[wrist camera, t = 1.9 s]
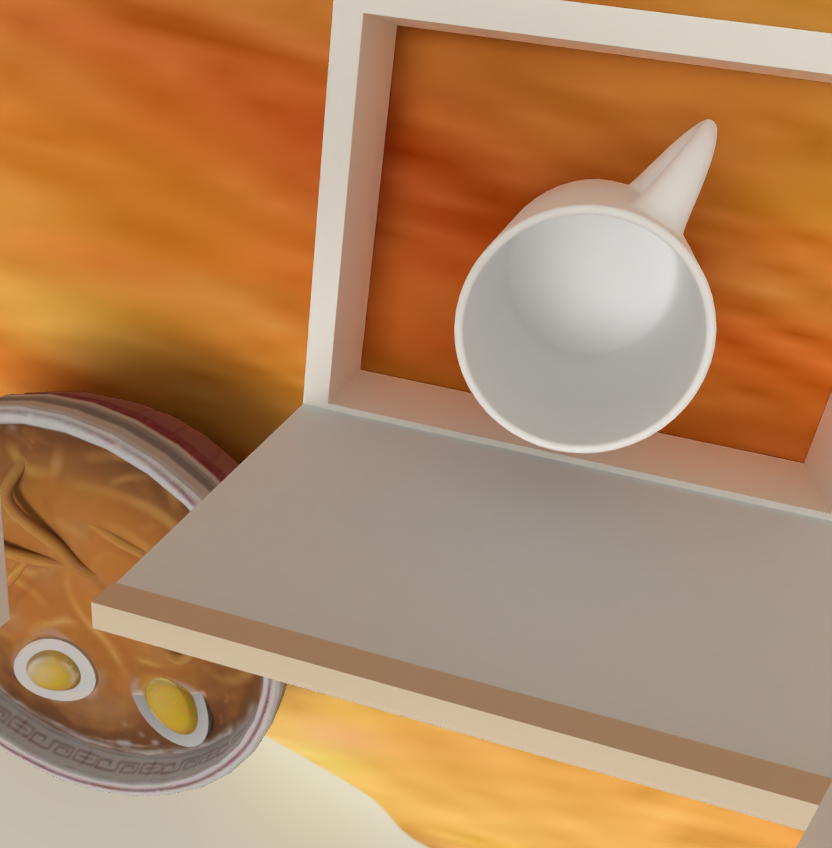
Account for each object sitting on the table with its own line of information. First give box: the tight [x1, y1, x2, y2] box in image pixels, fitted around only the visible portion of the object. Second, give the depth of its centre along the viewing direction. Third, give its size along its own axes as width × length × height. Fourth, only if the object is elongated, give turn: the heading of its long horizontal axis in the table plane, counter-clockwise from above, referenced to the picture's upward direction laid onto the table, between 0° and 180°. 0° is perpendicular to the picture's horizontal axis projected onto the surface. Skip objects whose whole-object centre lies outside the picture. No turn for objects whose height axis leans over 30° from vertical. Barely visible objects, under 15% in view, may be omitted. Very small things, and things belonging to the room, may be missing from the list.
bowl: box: [0, 391, 287, 796], centre depth 42 cm, size 23×23×10 cm
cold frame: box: [91, 0, 832, 831], centre depth 25 cm, size 18×24×21 cm
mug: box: [454, 119, 717, 453], centre depth 30 cm, size 9×12×11 cm
